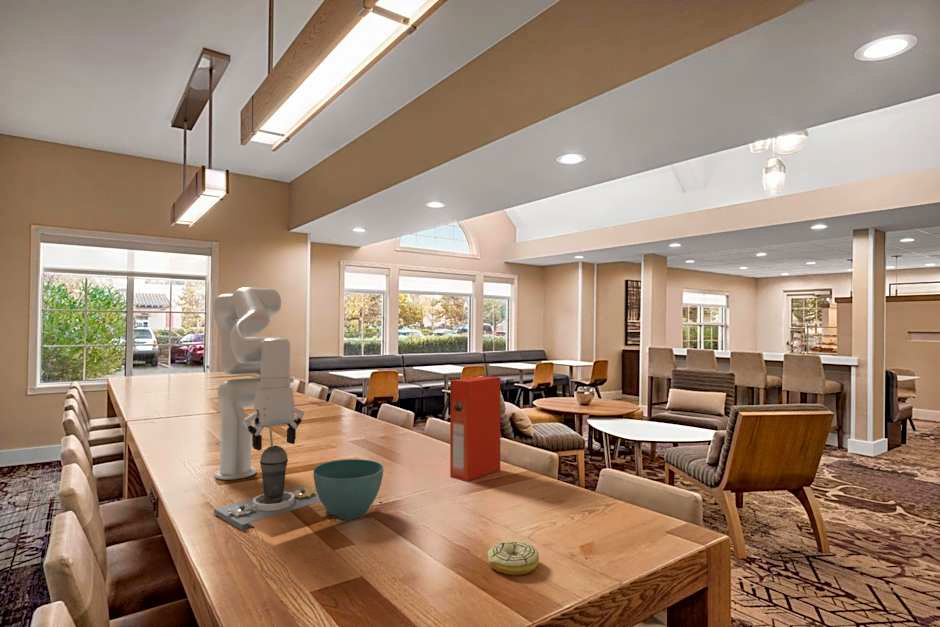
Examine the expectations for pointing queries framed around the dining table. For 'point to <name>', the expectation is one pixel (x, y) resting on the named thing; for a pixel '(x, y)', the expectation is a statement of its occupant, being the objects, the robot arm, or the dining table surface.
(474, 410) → the file binder
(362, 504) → the plant pot
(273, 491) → the beverage cup
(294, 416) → the robot arm
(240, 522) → the gear board
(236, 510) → the gear
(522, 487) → the dining table surface
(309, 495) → the gear
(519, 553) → the decorated donut
